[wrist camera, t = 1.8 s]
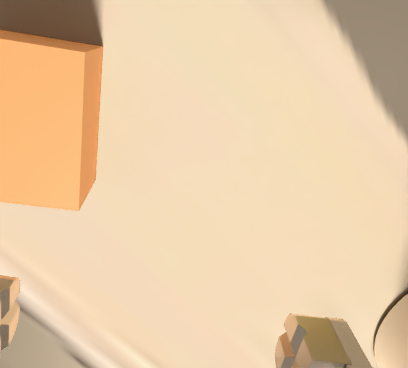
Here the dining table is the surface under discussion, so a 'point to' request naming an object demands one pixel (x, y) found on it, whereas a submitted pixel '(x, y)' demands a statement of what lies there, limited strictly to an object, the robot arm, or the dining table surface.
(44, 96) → the orange block
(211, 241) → the dining table surface
